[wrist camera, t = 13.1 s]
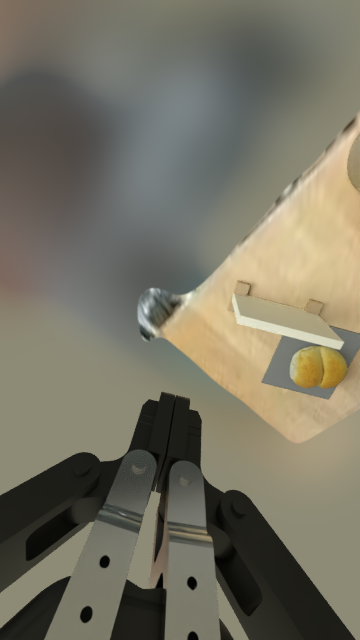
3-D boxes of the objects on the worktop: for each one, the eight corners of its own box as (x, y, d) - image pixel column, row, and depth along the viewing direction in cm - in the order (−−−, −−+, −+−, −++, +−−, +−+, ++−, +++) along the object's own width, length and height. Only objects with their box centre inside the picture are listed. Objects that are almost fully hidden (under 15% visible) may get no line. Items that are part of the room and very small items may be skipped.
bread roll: (336, 383, 49) (347, 398, 45) (286, 381, 50) (292, 395, 46) (347, 343, 46) (359, 355, 42) (293, 341, 46) (300, 354, 43)
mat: (291, 316, 45) (291, 316, 45) (366, 335, 45) (367, 335, 45) (261, 382, 51) (261, 382, 50) (328, 399, 51) (328, 399, 51)
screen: (237, 280, 43) (245, 302, 34) (321, 302, 43) (351, 329, 34) (227, 308, 45) (232, 335, 36) (307, 329, 45) (333, 361, 36)
